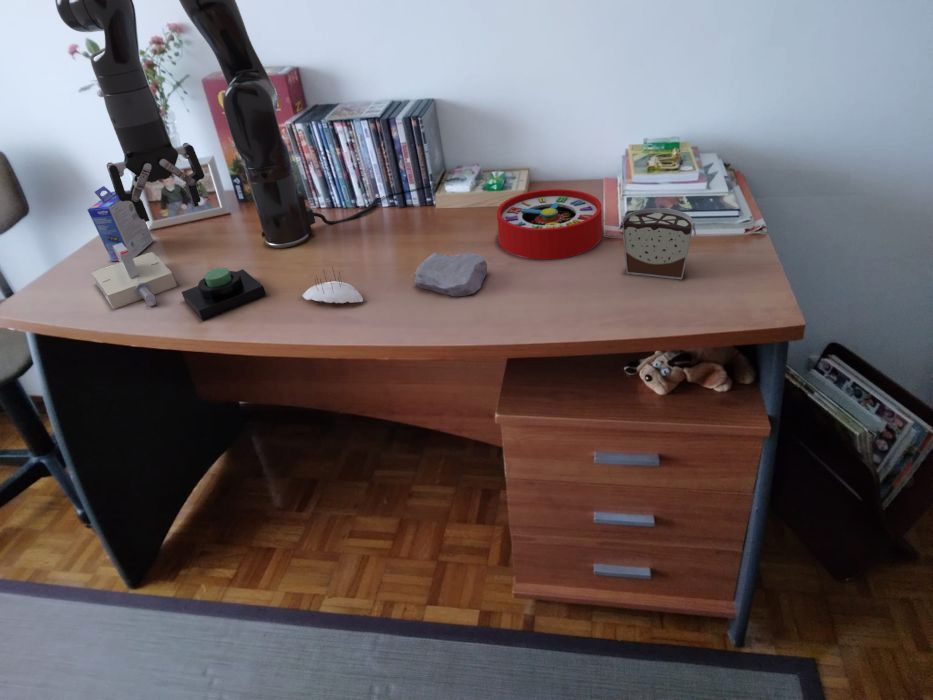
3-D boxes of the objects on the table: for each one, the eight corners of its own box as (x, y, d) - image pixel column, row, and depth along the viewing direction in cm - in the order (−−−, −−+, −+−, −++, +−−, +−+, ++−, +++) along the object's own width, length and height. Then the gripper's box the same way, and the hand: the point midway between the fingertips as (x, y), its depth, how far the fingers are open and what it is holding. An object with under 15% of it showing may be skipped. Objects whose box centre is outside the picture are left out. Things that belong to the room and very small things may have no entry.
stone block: (475, 306, 116) (491, 269, 122) (470, 285, 113) (486, 248, 119) (413, 303, 120) (431, 267, 126) (405, 282, 117) (425, 247, 123)
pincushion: (294, 306, 119) (286, 278, 116) (312, 289, 124) (304, 261, 121) (354, 312, 115) (347, 282, 112) (370, 294, 120) (364, 266, 117)
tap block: (157, 264, 141) (151, 250, 139) (177, 286, 131) (171, 271, 129) (97, 285, 135) (90, 271, 134) (113, 309, 126) (107, 294, 124)
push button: (226, 274, 125) (224, 265, 124) (235, 281, 122) (232, 272, 121) (203, 282, 123) (200, 273, 122) (212, 290, 120) (208, 281, 119)
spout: (152, 293, 129) (147, 280, 127) (161, 302, 125) (155, 289, 123) (138, 298, 127) (132, 285, 126) (145, 308, 124) (140, 295, 122)
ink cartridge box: (132, 242, 153) (106, 180, 145) (154, 241, 152) (130, 178, 144) (109, 262, 145) (80, 197, 137) (132, 260, 144) (105, 196, 136)
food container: (697, 264, 117) (702, 209, 111) (691, 280, 112) (696, 224, 107) (626, 257, 122) (628, 204, 116) (617, 272, 117) (619, 218, 112)
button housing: (246, 279, 131) (240, 260, 128) (266, 296, 124) (260, 276, 121) (185, 302, 125) (177, 283, 123) (202, 321, 118) (195, 301, 116)
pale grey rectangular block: (122, 268, 133) (111, 244, 130) (131, 265, 134) (121, 241, 131) (130, 278, 129) (119, 254, 126) (139, 275, 130) (129, 250, 127)
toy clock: (582, 234, 118) (479, 224, 126) (582, 264, 121) (482, 252, 129) (614, 192, 132) (520, 185, 140) (614, 220, 135) (522, 212, 144)
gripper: (174, 104, 114) (205, 195, 123) (86, 125, 108) (124, 219, 117) (186, 111, 109) (217, 206, 118) (94, 133, 103) (134, 231, 112)
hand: (171, 212), depth 117 cm, fingers open, 8 cm apart
